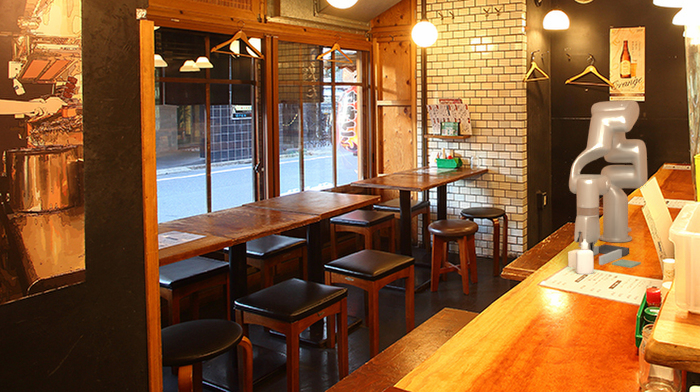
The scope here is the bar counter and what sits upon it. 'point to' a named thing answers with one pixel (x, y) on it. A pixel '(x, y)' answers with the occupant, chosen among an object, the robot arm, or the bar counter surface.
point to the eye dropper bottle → (584, 259)
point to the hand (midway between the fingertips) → (588, 260)
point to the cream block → (572, 258)
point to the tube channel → (607, 255)
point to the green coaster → (626, 263)
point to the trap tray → (613, 249)
